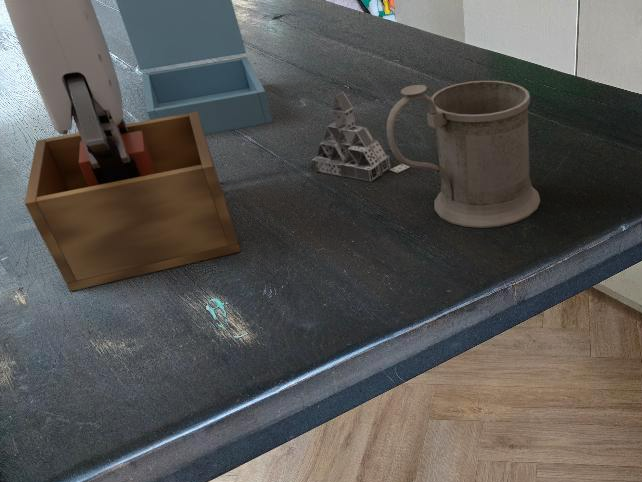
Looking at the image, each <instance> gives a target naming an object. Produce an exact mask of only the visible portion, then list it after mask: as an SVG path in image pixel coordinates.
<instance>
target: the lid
mask: <svg viewBox="0 0 642 482" xmlns="http://www.w3.org/2000/svg"><path fill="white" fill-rule="evenodd" d="M115 3H116V5H117V9H118V11H119V14H120V17H121V19H122V23H123V25H124V28H125V31H126V34H127V36H128V40H129V42H130V43H129V44H130V46H131V48H132V51H133V54H134V56H135V60H136V62H137V65H138V68H139V70H140V71H141V70H142V71H143V70H150V69H157V68H161V67H168V66H174V65H181V64H187V63H194V62H200V61H206V60H211V59H213V60H214V59H219V58H225V57H230V56H238V55H244V54H247V51H246V47H245V44H244V41H243V37H242V36H243V35H242V33H241V30H240V26H239V25H240V24H239V22H238V18H237V14H236V11H235V8H234V4H233V0H115Z"/></svg>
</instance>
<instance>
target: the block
mask: <svg viewBox="0 0 642 482" xmlns="http://www.w3.org/2000/svg"><path fill="white" fill-rule="evenodd" d="M121 136H122V139H123V141H124V144H125V147H126V150H127V152H128V155H129V158H134V160H135V163H136V165H137V168H138V170H139V173H140V176H141V177H142V176H147V175H152V174H157V173H158V172H157V170H156V167H155V164H154V162H153V159H152V156H151V154H150V151H149V148H148V146H147V143H146V140H145V138H144V135H143V132H142V131H136V132H131V133H125V134H121ZM108 137H111V138H112V139H113V141H114V138H113V136H108ZM106 138H107V137H106ZM115 145H116V144H115ZM79 165H80V167H81V169H82V172H83V174H84V176H85V178H86V181H87V183H88V185H89V187H91V186H96V185H99V184H98V182H97V179H96V177H95V175H94V172H93V170H92V168H91V165H92V164H91V162H90V159H89V157H88V154H87V152H86V149H85V147H84V144H83V141H80V152H79Z"/></svg>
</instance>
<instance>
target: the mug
mask: <svg viewBox="0 0 642 482" xmlns="http://www.w3.org/2000/svg"><path fill="white" fill-rule="evenodd" d="M427 88H428V87H427V86H426V85H424V84H414V85H408V86H406V87H404V88H402V89H401V90H400V94H401V95H404V96H403V97H402V98H401V99H400V100H399V101H397V102H396V103H395V104H394V105H393V106H392V108H391V109H390V112H389V114H388V117H387V121H386V137H387V141H388V145H389V147H390V150H391V152H392V154H393V155H394V158H395V159H396V160H398V162H400V164H404V165H407V166H409V168H413V169H414V168H415V169H424V170H425V169H426V170H431V171H433V172H434V174H436V175H438V177H440V181H441V184H440V192H439V193H438V194H437V196H436V198H435V199H434V202H433V204H434V211H435V213H436V214H437V216H439V218H441V219H442V220H444V221H446V222H447V223H450V224H452V225H456V226H459V227H460V226H461V227H464V228H476V229H488V228H499V227H505V226H508V225H512V224H516V223H518V222H520V221H523V220H524V219H527V218H529V217H530V216H531V215H532V214H534V213H535V212H536V211H537V210H538V209H539V205H540V204H541V197H540V194H539V191H537V189H536V188H534V186H533V185H532V181H531V177H530V173H531V172H530V141H529V140H530V139H529V110H528V109H529V105H530V103H531V95H530V92H529V90H527V89H526V88H525V87H523V86H521V85H519V84H516V83H512V82H508V81H502V80H473V81H467V82H466V81H465V82H461V83H455V84H452V85H449V86H446V87H443V88H441V89H439V90H438V91H436V92H434V93H433V94H432V95H431V96H429V95H428V94H426V93H425V92H426V91H427ZM418 100H421V101H424V103H426V104H427V106H428V108H429V112H427V113H426V119H427V126H428V127H430V128H433V129H435V136H436V145H437V153H438V162H439V164H436V163H435V164H434V163H432V162H427V161H414V160H412V159H409V158H406V157H405V156H404V155H403V154H402V153H401V152H400V150H399V148H398V146H397V142H396V139H395V134H394V133H395V132H394V131H395V130H394V127H395V121H396V118H397V116H398V114H399V113H400V112H401V110H402V109H403V108H404V107H405V106H407V104H410V103H411V102H414V101H418Z"/></svg>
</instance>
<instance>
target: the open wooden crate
mask: <svg viewBox="0 0 642 482" xmlns="http://www.w3.org/2000/svg"><path fill="white" fill-rule="evenodd" d="M126 126H127V129H128V133H131V132H136V131H142V132H143V135H144V138H145V140H146V143H147V146H148V148H149V151H150V154H151V156H152V159H153V162H154V164H155V167H156V170H157V172H158V173H157V174H152V175H147V176H142V177H136V178H131V179H126V180H121V181H116V182H111V183H106V184H101V185H96V186H91V187H89V185H88V183H87V181H86V178H85V176H84V174H83V172H82V169H81V167H80V165H79V152H80V141H82V139H81V136H80V134H79V132H75V133H69V134H66V135H58V136H52V137H47V138H43V139H37V140H36V141H35V146H34V152H33V157H32V162H31V167H30V173H29V178H28V184H27V189H26V195H25V199H24V200H25V201H24V206H25V208H26V209H27V211H28V213H29V216H30V217H31V219H32V221H33V223H34V225H35V227H36V229H37V231H38V233H39V235H40V237H41V238H42V241H43V243H44V244H45V247H46V249H47V250H48V252H49V253H50V256H51V258H52V259H53V261H54V263H55V265H56V268H57V269H58V271H59V272H60V275H61V277H62V279H63V281H64V283H65V285H66V287H67V288H68V290H69V292H74V291H79V290H84V289H86V288H91V287H97V286H100V285H104V284H108V283H112V282H117V281H122V280H127V279H130V278H134V277H139V276H142V275H146V274H151V273H156V272H159V271H164V270H168V269H172V268H177V267H180V266H185V265H190V264H194V263H198V262H199V263H200V262H203V261H207V260H212V259H216V258H220V257H224V256H229V255H233V254H238V253H240V252H241V248H240V244H239V241H238V237H237V234H236V231H235V227H234V225H233V221H232V217H231V214H230V210H229V207H228V204H227V201H226V197H225V193H224V190H223V186H222V184H221V181H220V177H219V175H218V172H217V169H216V166H215V165H216V164H215V162H214V159H213V156H212V153H211V150H210V147H209V143H208V141H207V137H206V135H205V134H204V131H203V128H202V125H201V122H200V119H199V116H198V112H193V113H189V114H188V113H187V114H182V115H176V116H170V117H165V118H159V119H153V120H150V119H149V120H142V121H138V122H132V123H126Z"/></svg>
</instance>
